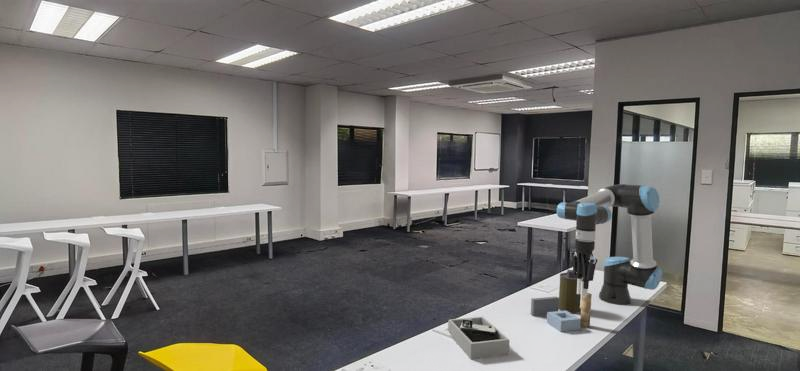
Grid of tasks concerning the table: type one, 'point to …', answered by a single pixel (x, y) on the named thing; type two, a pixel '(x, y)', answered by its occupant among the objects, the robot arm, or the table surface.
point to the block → (563, 321)
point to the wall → (544, 305)
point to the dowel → (585, 311)
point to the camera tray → (478, 348)
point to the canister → (569, 293)
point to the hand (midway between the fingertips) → (581, 294)
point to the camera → (478, 331)
